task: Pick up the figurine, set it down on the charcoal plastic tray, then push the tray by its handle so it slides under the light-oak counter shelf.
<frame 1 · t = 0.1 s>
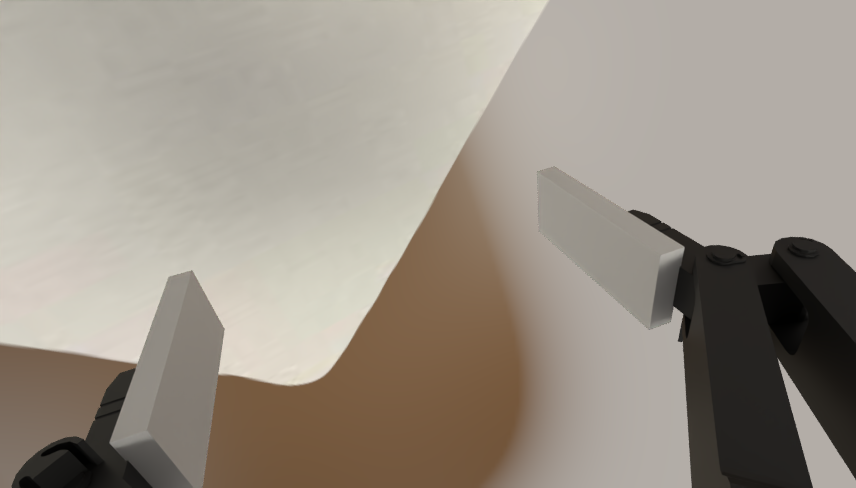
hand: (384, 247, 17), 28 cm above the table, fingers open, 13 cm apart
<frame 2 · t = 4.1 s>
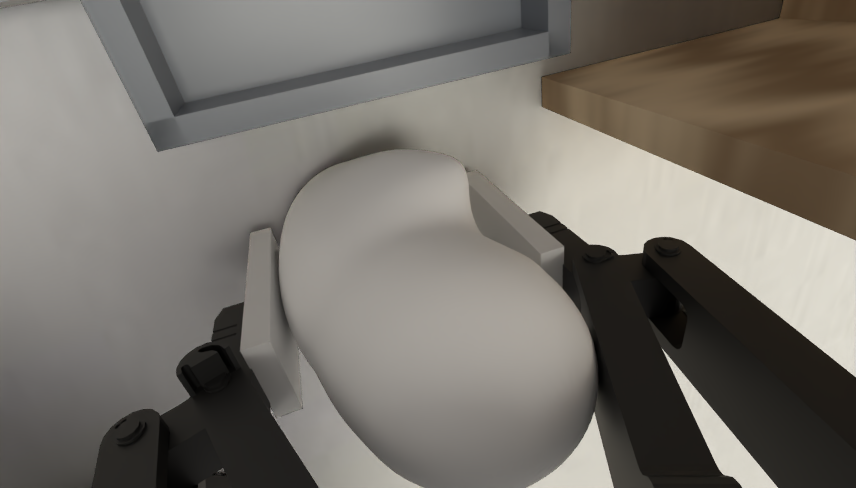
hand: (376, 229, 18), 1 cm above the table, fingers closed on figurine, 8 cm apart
figurine: (370, 220, 19), on the table, touching gripper
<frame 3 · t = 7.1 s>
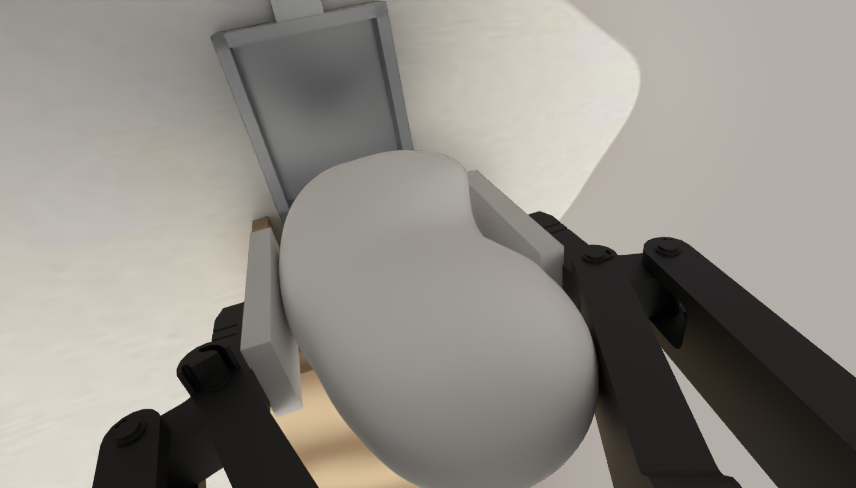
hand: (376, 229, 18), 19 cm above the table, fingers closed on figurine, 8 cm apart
counter: (367, 257, 40), on the table
figurine: (370, 221, 19), point 18 cm above the table, touching gripper
tray: (318, 84, 31), point 2 cm above the table, slide at 0.0 cm
when the fingers open (4 cm above the table, at t = 10.2 s): figurine drops 2 cm, resting on tray.
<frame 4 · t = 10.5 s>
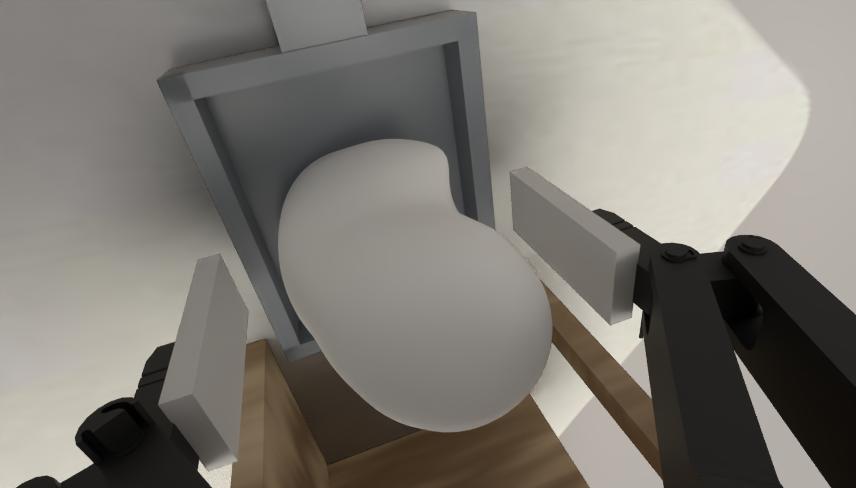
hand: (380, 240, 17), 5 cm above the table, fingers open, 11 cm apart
counter: (409, 378, 28), on the table
figurine: (362, 205, 20), point 1 cm above the table, touching tray
tray: (351, 150, 18), point 2 cm above the table, slide at 0.1 cm, touching figurine
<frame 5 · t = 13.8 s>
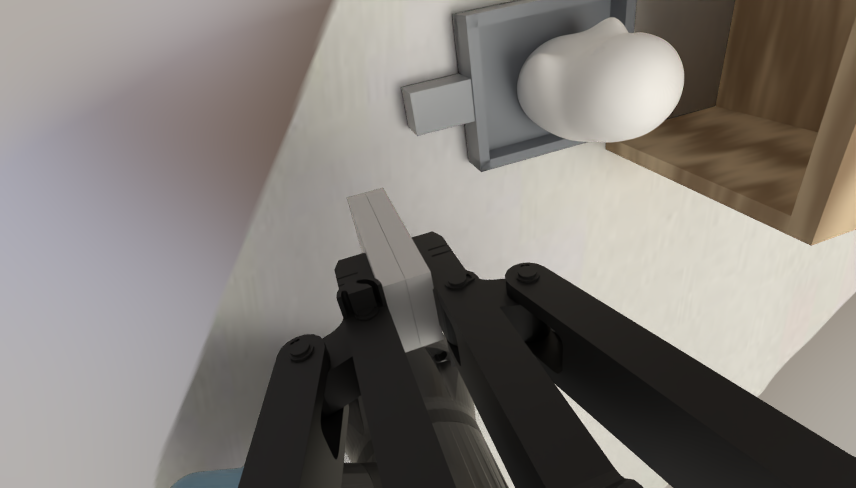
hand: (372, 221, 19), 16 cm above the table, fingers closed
counter: (678, 40, 37), on the table
figurine: (548, 76, 34), point 1 cm above the table, touching tray
tray: (519, 84, 33), point 1 cm above the table, slide at 0.2 cm, touching figurine
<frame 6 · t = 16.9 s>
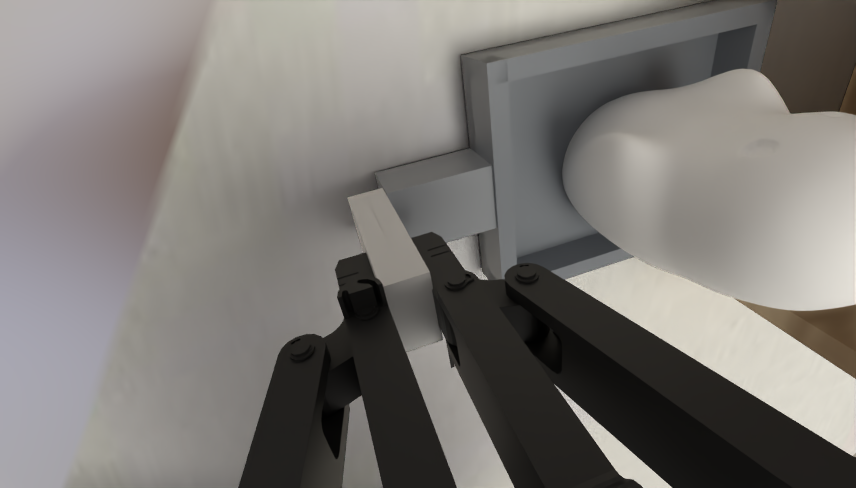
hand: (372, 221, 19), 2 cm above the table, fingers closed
counter: (777, 94, 24), on the table
figurine: (611, 148, 22), point 1 cm above the table, touching tray
tray: (568, 165, 21), point 2 cm above the table, slide at 1.8 cm, touching figurine, gripper
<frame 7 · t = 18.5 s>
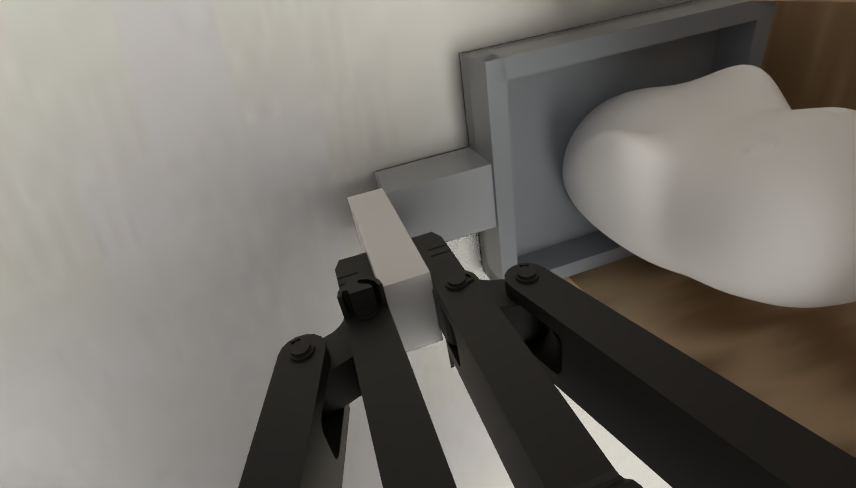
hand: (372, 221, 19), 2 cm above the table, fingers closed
counter: (666, 121, 23), on the table
figurine: (611, 146, 22), point 1 cm above the table, touching tray
tray: (568, 163, 21), point 2 cm above the table, slide at 9.1 cm, touching figurine, gripper
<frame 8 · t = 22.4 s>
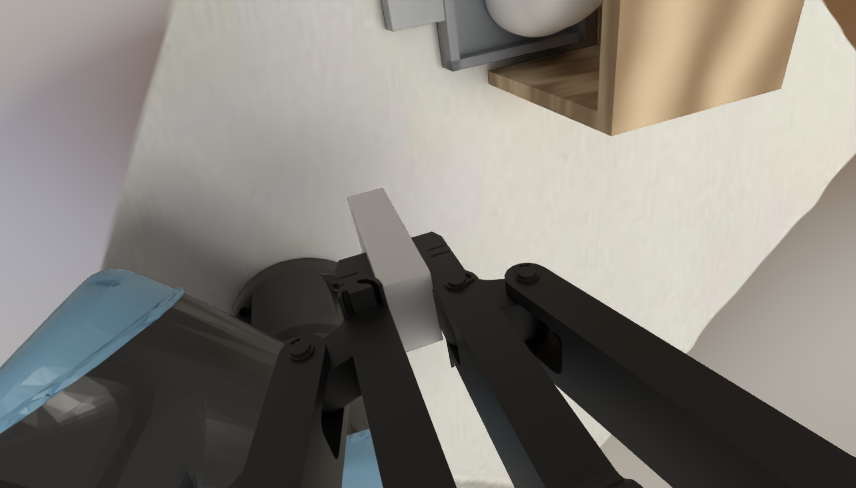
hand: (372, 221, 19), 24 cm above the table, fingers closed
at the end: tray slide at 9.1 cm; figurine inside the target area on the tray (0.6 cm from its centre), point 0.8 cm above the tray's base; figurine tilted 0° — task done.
